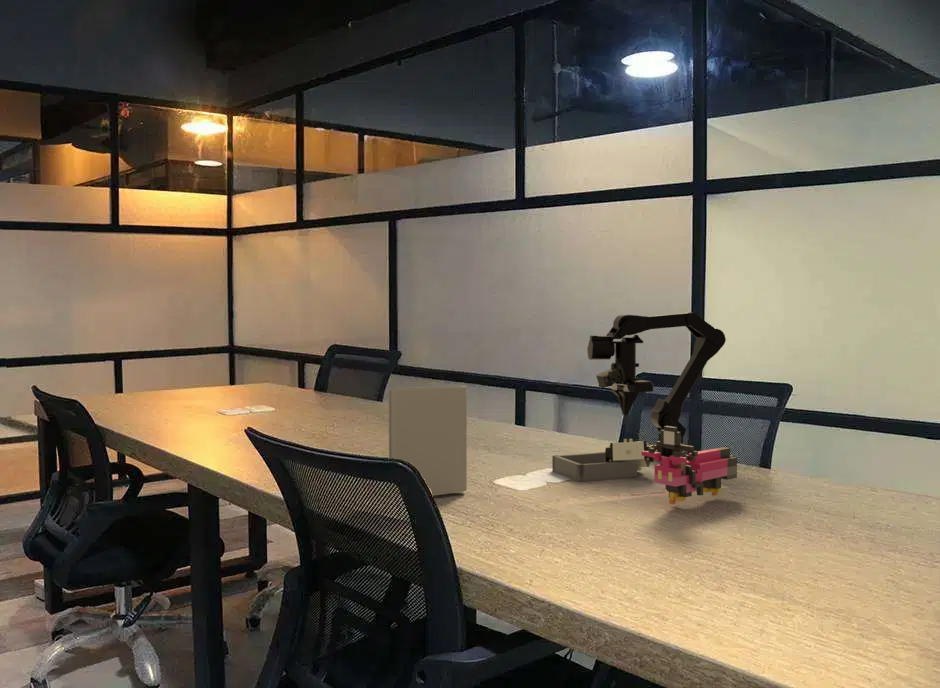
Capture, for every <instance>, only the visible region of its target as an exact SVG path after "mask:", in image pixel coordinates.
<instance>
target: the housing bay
mask: <svg viewBox="0 0 940 688" xmlns="http://www.w3.org/2000/svg"><path fill="white" fill-rule="evenodd" d="M551 472H554V473H555V474H559V475H561V476H564V477H566V478H568V479H572V480H574V481H576V482H578V483H580V482H592V481H602V480H603V481H604V480H617V479H628V478H629V479H631V478H637V477H638V471H637V464H634V463H630V462H606V458H605V451H601V452H586V453H585V452H584V453H571V454H558V455H557V454H556V455H552V471H551Z"/></svg>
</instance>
